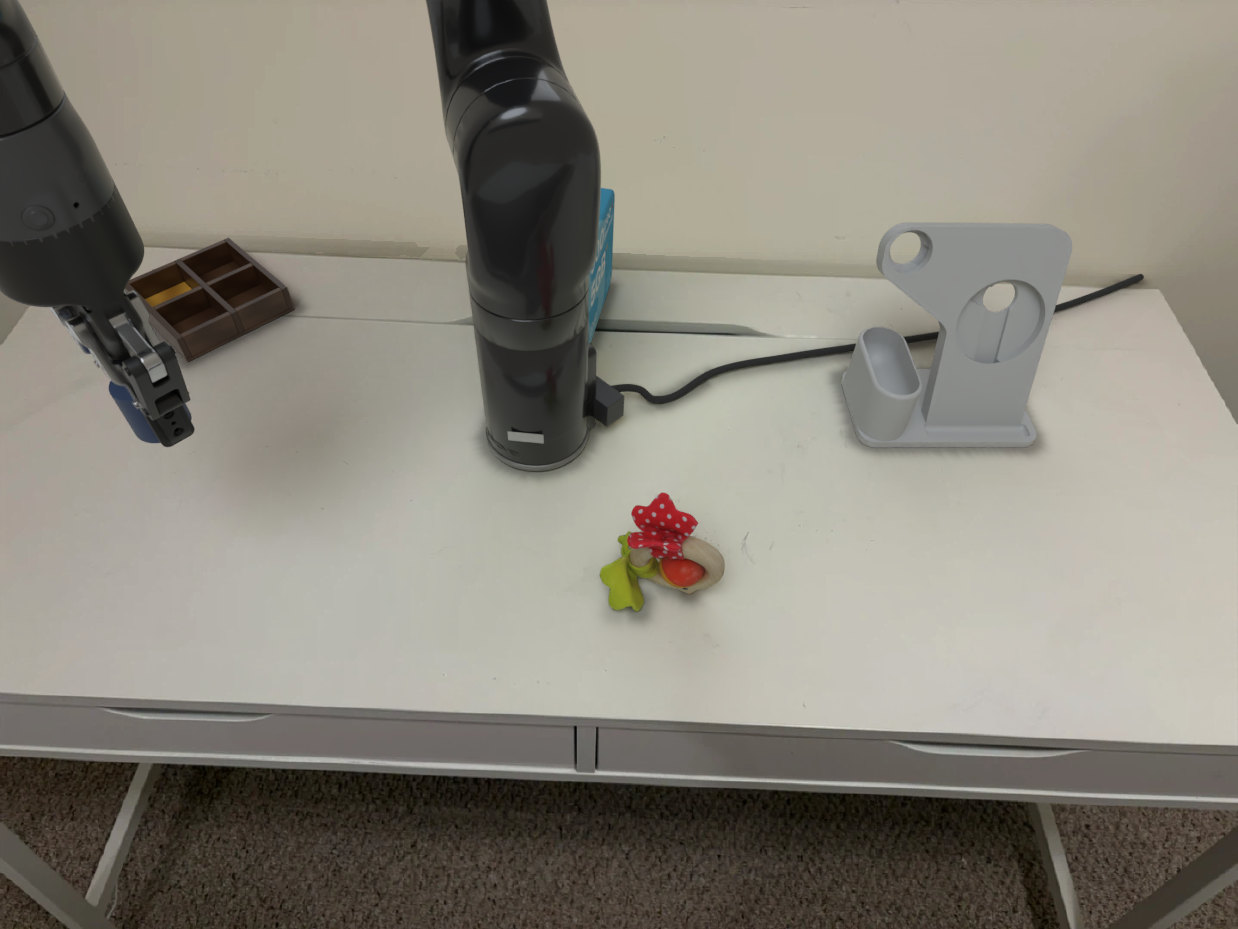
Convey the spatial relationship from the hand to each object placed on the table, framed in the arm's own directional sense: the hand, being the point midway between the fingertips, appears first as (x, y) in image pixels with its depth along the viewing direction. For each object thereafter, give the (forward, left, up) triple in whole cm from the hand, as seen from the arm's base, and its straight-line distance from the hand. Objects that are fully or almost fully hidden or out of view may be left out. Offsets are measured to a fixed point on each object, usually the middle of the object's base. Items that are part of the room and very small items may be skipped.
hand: (162, 420), depth 55 cm
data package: (-41, -2, -15) cm, 44 cm away
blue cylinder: (0, 0, 0) cm, 0 cm away
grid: (-14, -29, -15) cm, 35 cm away
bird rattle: (-22, +27, -15) cm, 38 cm away
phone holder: (-56, +32, -15) cm, 66 cm away
